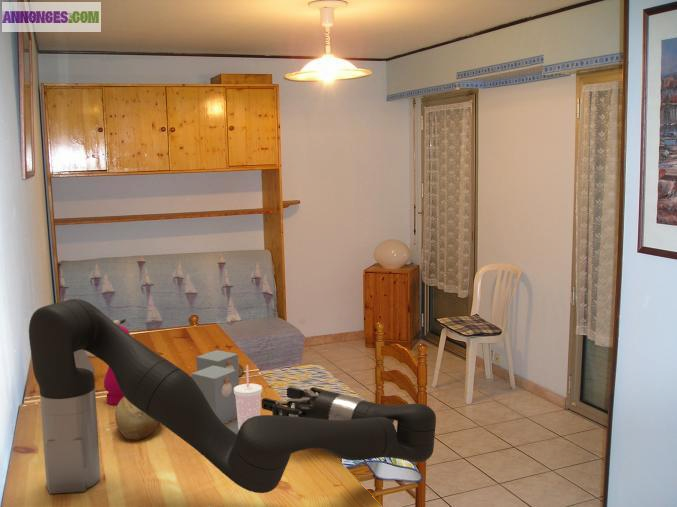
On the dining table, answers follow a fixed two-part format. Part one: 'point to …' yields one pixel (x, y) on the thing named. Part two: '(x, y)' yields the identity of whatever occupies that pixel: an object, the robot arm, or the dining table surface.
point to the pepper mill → (113, 380)
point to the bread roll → (133, 421)
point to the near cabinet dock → (219, 392)
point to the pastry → (240, 368)
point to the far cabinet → (219, 361)
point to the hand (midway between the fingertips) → (275, 397)
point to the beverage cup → (247, 400)
